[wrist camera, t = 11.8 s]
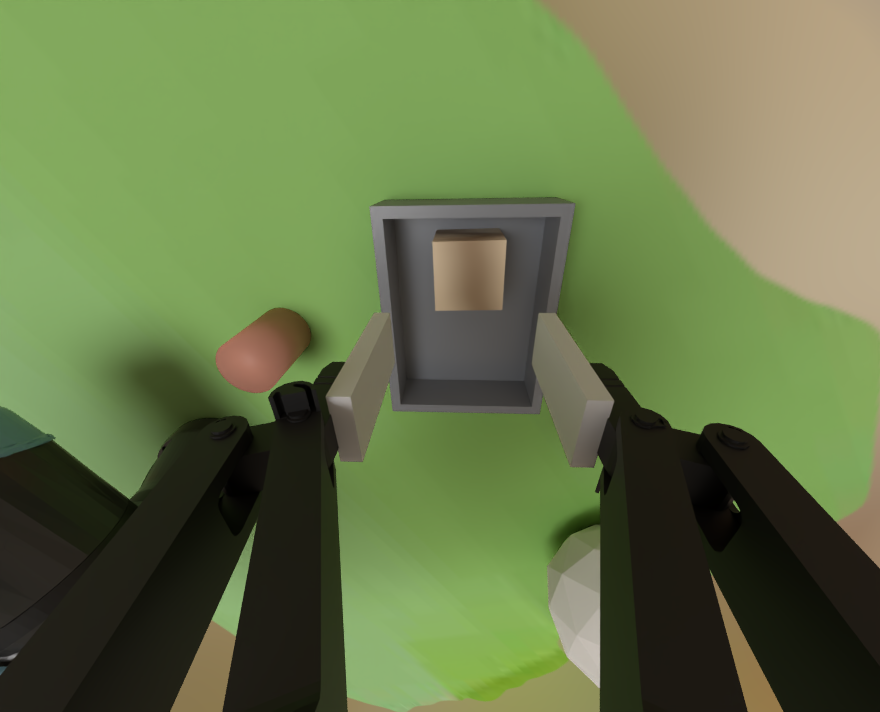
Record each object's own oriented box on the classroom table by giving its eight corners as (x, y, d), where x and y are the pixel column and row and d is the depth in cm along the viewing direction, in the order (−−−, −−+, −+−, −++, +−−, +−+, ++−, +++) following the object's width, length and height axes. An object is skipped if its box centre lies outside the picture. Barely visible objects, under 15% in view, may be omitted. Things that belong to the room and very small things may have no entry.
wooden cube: (438, 289, 29) (435, 310, 25) (436, 229, 27) (432, 241, 22) (495, 288, 29) (502, 309, 24) (499, 228, 26) (506, 239, 22)
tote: (529, 383, 34) (539, 413, 30) (401, 381, 35) (392, 411, 31) (556, 197, 26) (575, 203, 21) (384, 199, 26) (369, 206, 22)
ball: (506, 557, 39) (741, 893, 21) (649, 440, 45) (928, 622, 27) (523, 601, 50) (691, 851, 31) (638, 501, 56) (834, 662, 37)
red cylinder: (268, 352, 34) (227, 392, 28) (254, 307, 32) (206, 340, 26) (315, 353, 34) (284, 393, 28) (304, 307, 32) (268, 341, 26)
